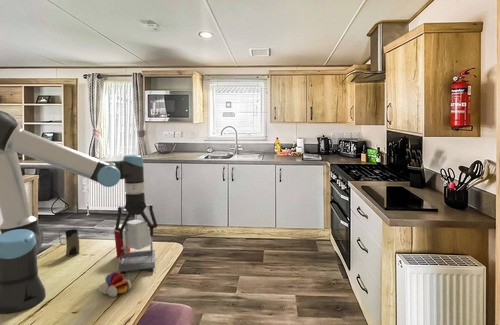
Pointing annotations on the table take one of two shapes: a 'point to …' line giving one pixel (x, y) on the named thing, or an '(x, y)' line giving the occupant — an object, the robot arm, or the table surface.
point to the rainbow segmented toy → (115, 284)
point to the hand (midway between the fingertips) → (137, 245)
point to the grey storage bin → (137, 260)
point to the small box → (136, 234)
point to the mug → (71, 242)
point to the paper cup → (119, 243)
